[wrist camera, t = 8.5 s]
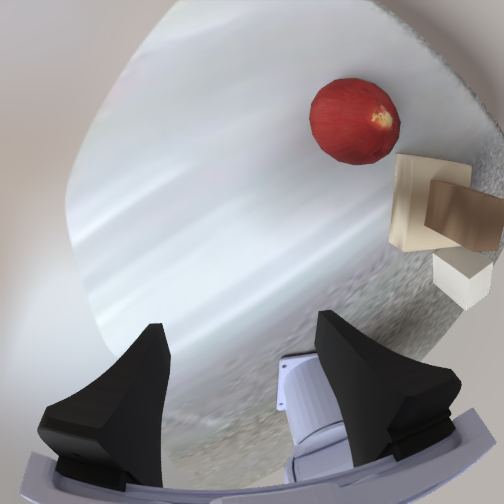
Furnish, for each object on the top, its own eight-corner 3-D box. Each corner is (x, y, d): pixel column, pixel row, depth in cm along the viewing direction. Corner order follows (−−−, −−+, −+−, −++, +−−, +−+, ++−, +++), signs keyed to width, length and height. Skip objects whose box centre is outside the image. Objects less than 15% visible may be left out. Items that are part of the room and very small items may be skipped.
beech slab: (443, 235, 24) (461, 245, 21) (386, 239, 23) (403, 252, 21) (451, 161, 21) (471, 166, 18) (393, 152, 20) (413, 156, 18)
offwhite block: (456, 268, 26) (489, 293, 20) (433, 283, 26) (465, 311, 20) (456, 239, 24) (493, 261, 19) (432, 253, 24) (469, 279, 19)
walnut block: (452, 226, 20) (497, 250, 15) (423, 225, 20) (472, 251, 14) (458, 184, 19) (507, 201, 13) (430, 179, 18) (483, 195, 13)
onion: (369, 99, 18) (435, 89, 11) (360, 166, 20) (423, 184, 13) (301, 80, 17) (346, 50, 10) (291, 152, 19) (332, 160, 12)
